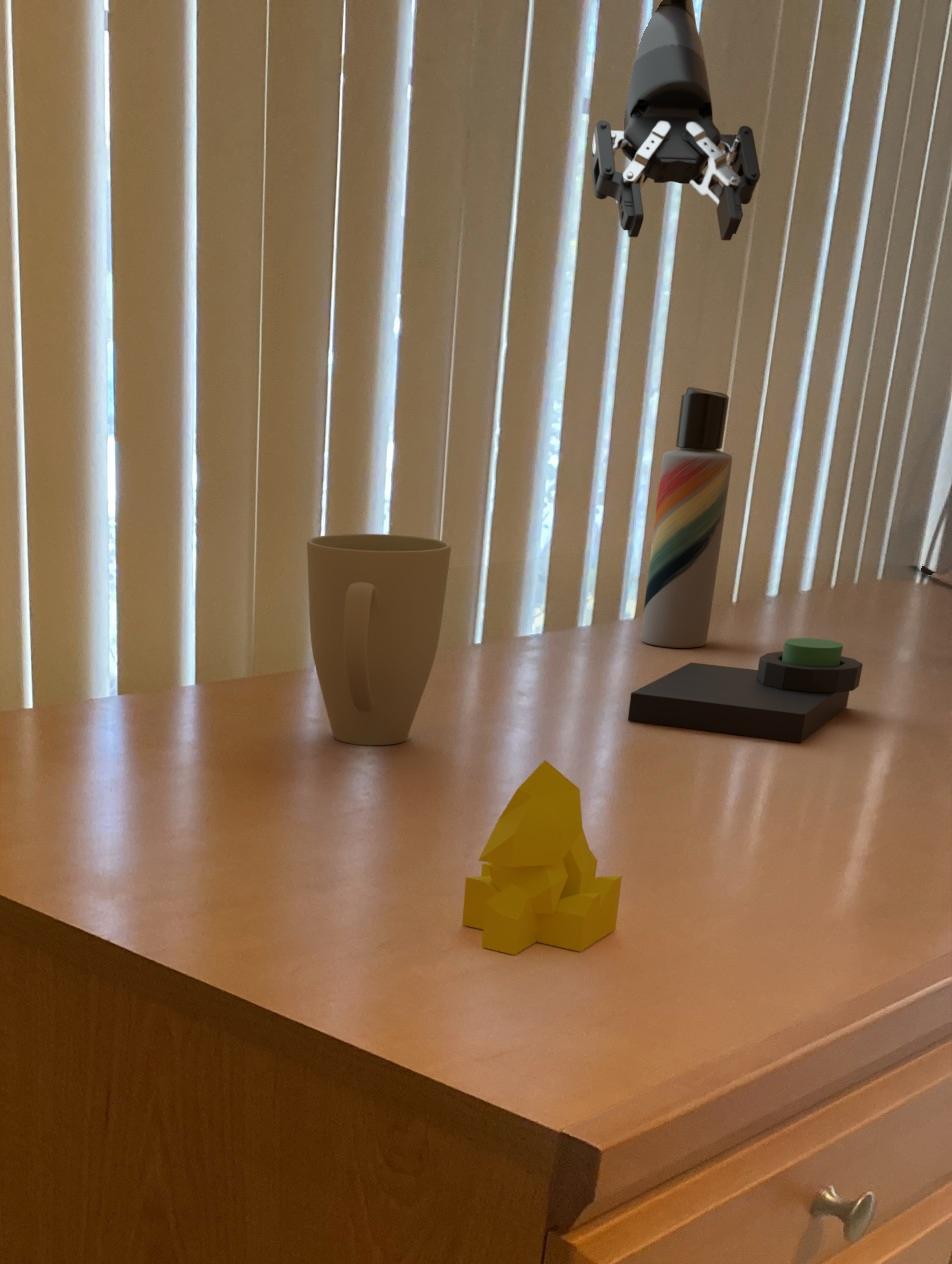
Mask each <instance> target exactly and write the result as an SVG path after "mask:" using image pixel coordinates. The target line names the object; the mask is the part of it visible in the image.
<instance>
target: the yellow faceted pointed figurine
mask: <svg viewBox="0 0 952 1264" xmlns="http://www.w3.org/2000/svg"><path fill="white" fill-rule="evenodd" d="M581 804H582V803H581V789H580V788H579V787H578V786H576V785H575V784H574V782H572V780H570V779H569V778H568V777H566V776H565V774H562V773H561V771H559V770H558V769H557V768H556V767H554V766H553V765H552V764H551V763H550V762H548V761H547V760H546V759H544V760H543V761H542V762H541V763H540V764H539V766H537V768H536V769H535V770H534V771H533V772H532V773H531V774H530V775H529V776H528V777H527V778H526V779H525V780H524V781H523V782H522V783H521V784H520V785H519V786H518V787H517V789H516V790H515V792H514V793H513V795H512V797H511V799H510V800H509V802H508V803H507V805H506V807H505V808H504V810H503V812H502V813H501V815H500V816H499V817H498V820H497V822H496V824H495V826H494V827H493V829H492V832H491V833H490V836H489V838H488V839H487V842H486V843H485V845H484V847H483V849H482V851H481V853H480V856H479V858H478V861H480V862H484V863H482V864H481V874H480V876H466V877H465V884H464V885H465V886H464V895H463V897H464V898H463V908H462V909H463V910H462V920H461V921H462V923H461V925H462V926H465V927H471V928H475V929H479V930H482V940H481V941H482V942H481V948H483V949H488V950H492V951H496V952H501V953H504V954H508V955H513V956H515V955H517V954H518V953H520V952H522V951H524V950H525V949H527V948H529V947H531V946H533V944H535V943H540V944H544V945H549V946H553V947H557V948H562V949H567V950H571V951H576V952H578V953H579V952H580V953H581V952H583V951H584V950H586V949H587V948H588V947H591V946H592V945H594V944H595V943H596V942H598V941H600V940H601V939H603V938H605V937H606V936H607V935H609V934H611V933H612V932H614V931H615V930H616V928H617V919H618V911H619V902H620V894H621V888H622V887H621V886H622V880H623V879H622V877H623V876H622V875H606V876H605V875H604V876H603V875H601V876H596V875H597V866H598V859H597V857H596V856H595V855H594V853H593V852H592V851H591V848H590V845H589V843H588V840H587V837H586V833H585V831H584V829H583V817H582V805H581Z"/></svg>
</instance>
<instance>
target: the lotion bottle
mask: <svg viewBox="0 0 952 1264" xmlns="http://www.w3.org/2000/svg"><path fill="white" fill-rule="evenodd" d="M680 399H681V400H680V407H679V415H678V416H679V417H678V423H677V430H676V432H677V433H676V441H675V447H676V448H677V449H673V450H668V451H665V452H663V455H662V460H661V466H660V475H659V481H658V489H657V498H656V505H655V506H656V507H655V516H654V523H653V530H652V538H651V539H652V540H651V548H650V556H649V565H648V573H647V581H646V590H645V596H644V597H645V598H644V606H643V615H642V622H641V623H642V624H641V634H640V635H641V637H640V638H641V641H642V642H643V643H645V644H647V645H652V646H657V647H663V648H676V649H688V648H689V649H693V648H699V647H703V646H705V645H706V643H707V640H708V636H709V628H710V623H711V616H712V608H713V601H714V596H715V595H714V594H715V587H716V580H717V574H718V573H717V572H718V565H719V560H720V552H721V544H722V538H723V537H722V536H723V531H724V523H725V515H726V507H727V501H728V494H729V487H730V481H731V473H732V472H731V471H732V465H733V464H732V463H733V456H732V455H731V453H728V452H724V451H721V449H722V448H723V444H724V436H725V431H726V430H725V429H726V422H727V421H726V420H727V415H728V407H729V402H730V401H729V400H730V397H729V395H727V394H725V393H723V392H719V391H711V390H708V389H703V388H699V387H692V386H691V387H690V386H688V387H687V388H686V391H685V393H684V394H682V395H681V398H680Z"/></svg>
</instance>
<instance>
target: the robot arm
mask: <svg viewBox="0 0 952 1264" xmlns="http://www.w3.org/2000/svg"><path fill="white" fill-rule="evenodd" d="M695 14H696V13H695V8H694V1H693V0H663V1H662V2H661V3H660V5H659V7H658V8H657V10H656V11H655V13H654V15H653V16H652V18H651V19H650V21H649V23H648V26H647V27H646V29H645V31H644V33H643V36H642V38H641V42H640V44H639V49H638V51H637V52H638V53H637V55H636V58H635V61H634V62H635V63H634V67H633V73H632V78H631V83H630V86H629V92H628V98H627V103H626V110H625V115H624V116H625V118H624V130H617V129H616V130H615V129H612V128H611V124H610V122H608V121H607V120H604V119H601V120H598V121H597V122H596V124H595V127H594V128H595V129H594V132H593V135H592V138H593V140H592V139H591V142H592V141H593V142H592V154H591V161H590V170H591V179H592V188H593V196H594V197H595V198H596V199H599V200H605V199H607V198H608V197H610V198H613V199H614V201H615V203H616V204H617V206H618V215H619V223H620V227H621V228H622V230H623V231H627V235H628V238H638V237H639V236H640V235H639V234H640V231H641V229H642V226H643V222H644V215H645V214H644V208H643V200H642V193H641V190H642V189H643V187H645V185H646V184H647V183H648V181H649V179H651V180H653V183H655V184H665V183H670V182H673V183H677V184H681V185H682V184H683V185H684V184H685V185H691V186H692V188H694V189H695V191H696V192H697V193H698V194H699V195H700V196H703V197H704V196H706V195H707V196H708V197H709V198H710V199H711V200H712V201H713V202H714V203H715V204H716V205H717V206H716V215H717V223H718V228H719V235H720V240H721V241H731V240H732V238H733V236H734V235H736V234H737V232H738V229H739V227H740V225H741V222H742V219H743V216H744V212H743V206H742V205H748V204H750V203H751V201H752V198H753V194H754V192H755V189H756V187H757V184H758V183H759V180H760V178H761V171H760V165H759V159H758V153H757V148H756V142H755V137H754V131H753V129H752V127H750V126H749V125H741V126H739V129H738V131H737V134H733V133H732V134H729V133H728V134H727V133H726V134H725V133H721V131H720V130H719V128H718V127H717V126H716V124H715V122H714V119H713V118H714V117H713V103H712V97H711V90H710V84H709V77H708V71H707V66H706V59H705V52H704V47H703V42H702V39H701V36H700V33H699V31H698V27H697V20H696V15H695ZM619 149H621V152H622V153H623V155H624V156H625V157H626V158H627V159H628V160H629V161H630V163H629V165H628V166H627V167H626V168H625V170H624V171H623V173H622V172H620V171H616V164H615V163H616V162H615V156H616V153H617V151H618V150H619ZM706 167H707V168H706ZM705 168H706V170H705ZM704 170H705V173H703V171H704ZM720 181H721V183H723V186H722V185H721V184H720ZM920 572H921V573H922V574H924V575H926V576H928V575H932V574H933V573H937V572H936V571H934V570H932V569H930V568H928V567H927V566H925V565H924V566H922V568H921V571H920Z"/></svg>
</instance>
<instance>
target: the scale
mask: <svg viewBox="0 0 952 1264" xmlns="http://www.w3.org/2000/svg"><path fill="white" fill-rule="evenodd" d="M782 656H783V651H776V652H767V653H765V654H763V655H761V656H760V657H759V660H758V667H757V669H753V668H752V669H751V668H744V667H735V666H725V665H716V664H708V663H701V662H689V663H687V664H685V665H683V666H681V667H679V668H676V669H675V670H673V671H671V672H670V673H667V674H665V675H663V676H661V677H660V678H658V679H655V680H654V681H652V682H650V683H648V684H646V685H644V686H641V687H640V688H638V689H636V690H634V691H632V692H631V693H630V698H629V706H628V707H629V708H628V716H627V721H630V722H637V723H645V724H652V725H660V726H667V727H674V728H683V729H689V730H690V729H691V730H698V731H705V732H714V733H720V734H729V735H735V736H744V737H751V738H759V739H766V740H773V741H783V742H787V743H789V742H790V743H797V744H801V743H802V742H804V741H805V740H806V739H808V737H810V736H811V735H813V734H814V733H815V732H816V731H818V730H819V729H820V728H821V727H823V726H824V725H825V724H826V723H828V722H830V721H831V720H832V719H833V718H834V717H836V716H837V715H838V714H840V713H841V712H842V711H843V710H844V709H846V708H847V707H848V701H849V696H850V692H852V691H855V690H856V689H857V688H859V686H860V682H861V677H862V671H863V663H862V662H860V661H858V660H857V659H855V658H851V657H847V656H843V655H841V660H840V665H839V666H806V665H797V664H792V663H788V662H783V661H782Z"/></svg>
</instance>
